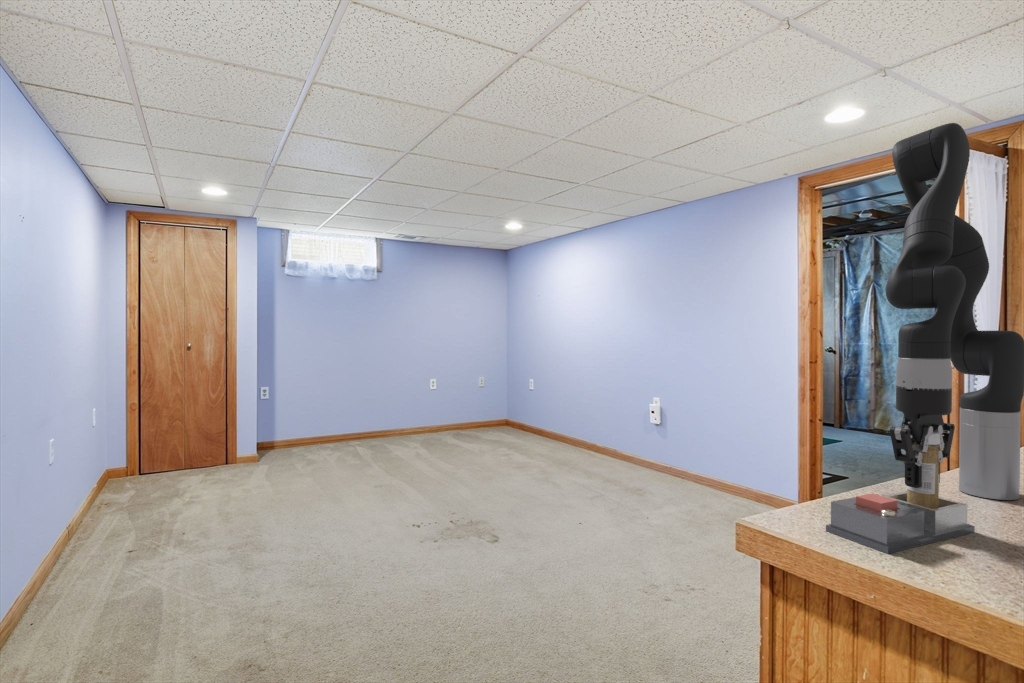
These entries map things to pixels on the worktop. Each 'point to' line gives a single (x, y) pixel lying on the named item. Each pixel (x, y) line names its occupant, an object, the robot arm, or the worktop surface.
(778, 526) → the worktop surface
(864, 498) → the button
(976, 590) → the worktop surface
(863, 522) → the grey push button box
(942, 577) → the worktop surface
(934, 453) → the sprinkles bottle
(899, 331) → the robot arm
